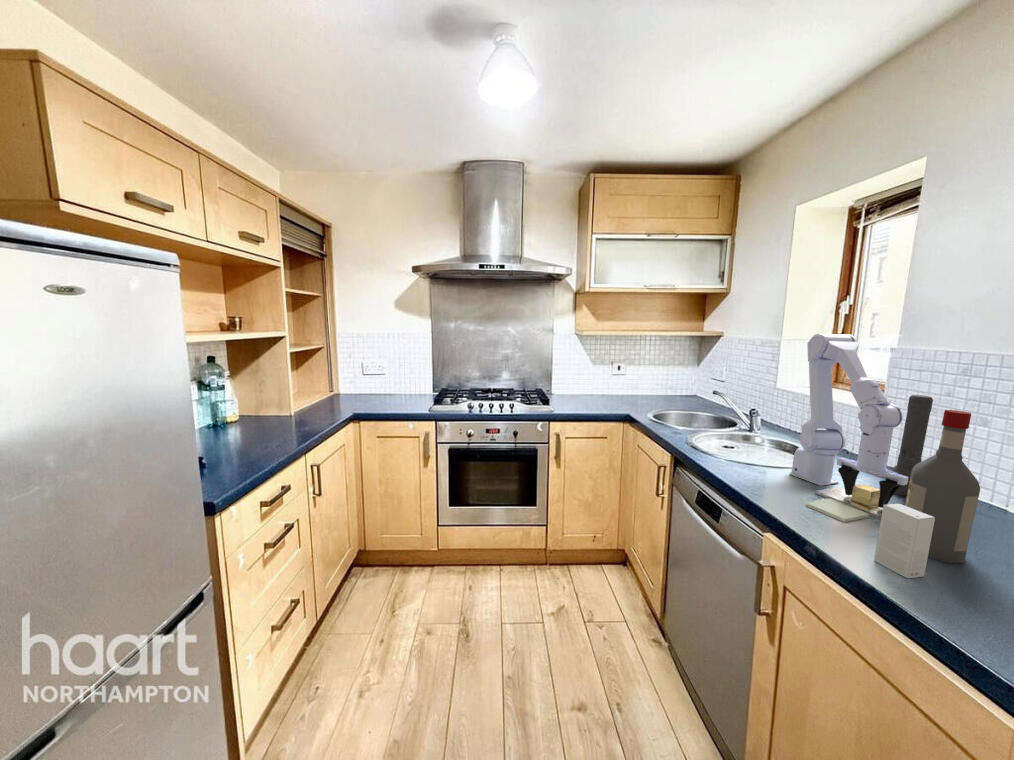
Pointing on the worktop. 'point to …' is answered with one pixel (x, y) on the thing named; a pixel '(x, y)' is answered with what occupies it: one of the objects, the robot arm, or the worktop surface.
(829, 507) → the tile
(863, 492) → the light wood cube
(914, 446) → the flashlight
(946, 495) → the liquor
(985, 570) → the worktop surface
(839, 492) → the rail plate
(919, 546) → the skincare box
